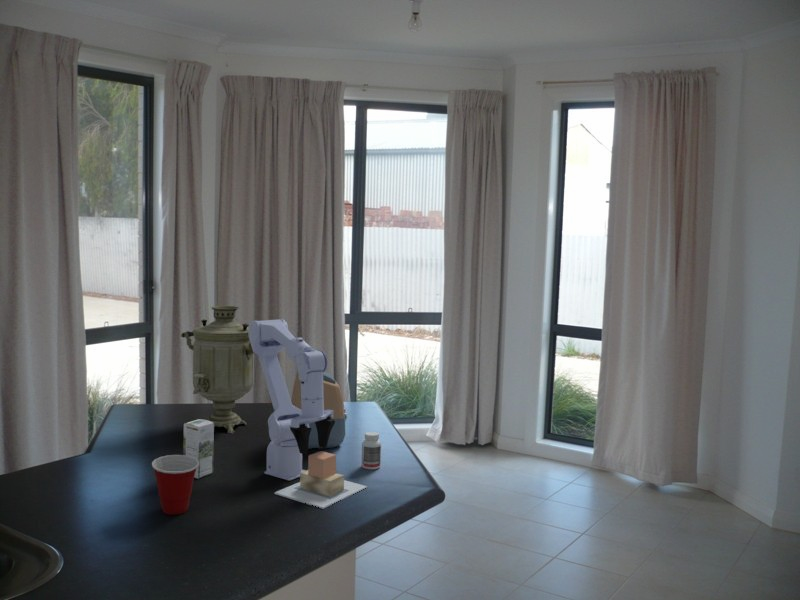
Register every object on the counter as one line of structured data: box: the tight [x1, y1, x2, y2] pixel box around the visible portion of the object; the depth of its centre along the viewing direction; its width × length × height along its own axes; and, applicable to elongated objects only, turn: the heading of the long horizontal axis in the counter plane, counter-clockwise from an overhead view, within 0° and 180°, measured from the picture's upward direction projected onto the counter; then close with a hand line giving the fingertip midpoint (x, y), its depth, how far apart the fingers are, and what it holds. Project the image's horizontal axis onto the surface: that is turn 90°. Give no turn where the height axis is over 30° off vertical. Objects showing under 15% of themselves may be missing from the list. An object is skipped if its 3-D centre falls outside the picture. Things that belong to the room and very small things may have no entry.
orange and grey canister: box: [291, 371, 346, 450], centre depth 233 cm, size 17×17×23 cm
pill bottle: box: [361, 431, 382, 471], centre depth 213 cm, size 5×5×10 cm
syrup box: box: [182, 418, 215, 479], centre depth 203 cm, size 6×6×14 cm
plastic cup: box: [151, 454, 199, 516], centre depth 178 cm, size 11×11×12 cm
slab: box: [299, 469, 345, 497], centre depth 193 cm, size 10×6×4 cm, turn 56°
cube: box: [307, 450, 337, 479], centre depth 193 cm, size 5×5×5 cm
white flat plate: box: [274, 479, 368, 510], centre depth 194 cm, size 16×18×1 cm
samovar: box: [180, 305, 255, 434], centre depth 244 cm, size 30×26×40 cm
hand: (313, 450), depth 193 cm, fingers open, 7 cm apart
